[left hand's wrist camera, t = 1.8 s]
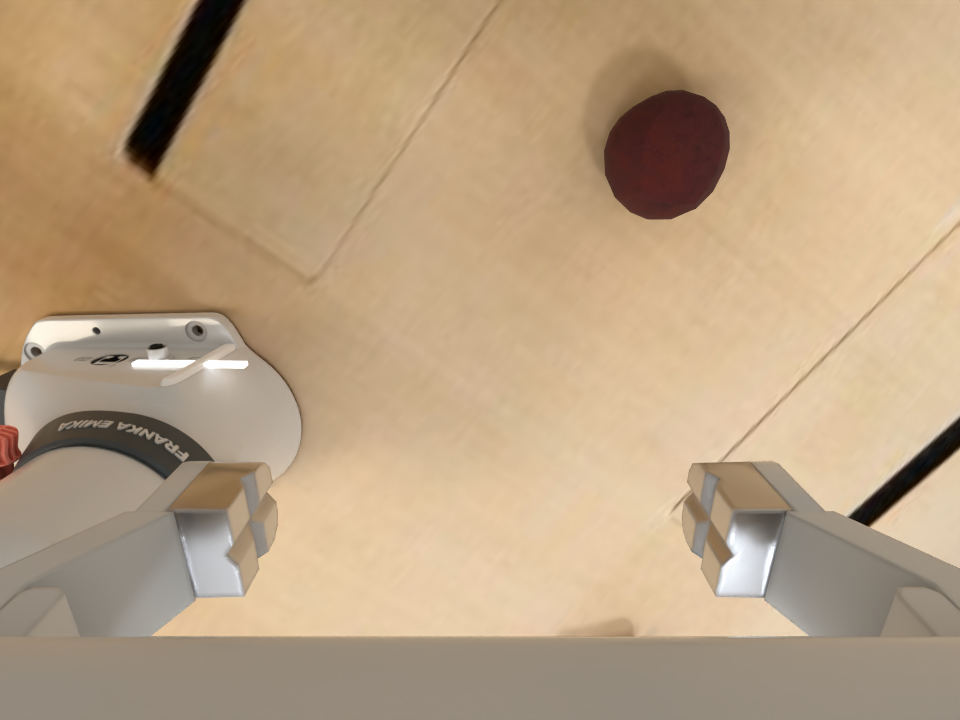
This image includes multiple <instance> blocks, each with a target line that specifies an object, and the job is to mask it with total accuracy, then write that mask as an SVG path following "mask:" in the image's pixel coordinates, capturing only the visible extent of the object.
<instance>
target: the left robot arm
mask: <svg viewBox="0 0 960 720" xmlns="http://www.w3.org/2000/svg"><path fill="white" fill-rule="evenodd" d="M197 325H198V326H200V327H201V328H202V329H203V333H200V332H199V331H198V330H197ZM38 348H39V349H40V350H41V351H42V353H41V352H40V351H39V350H38ZM301 432H302V427H301V417H300V413H299V409H298V406H297V403H296V401H295V398H294V396H293V394H292V392H291V391H290V389H289V387H288V386H287V384H286V383H285V381H284V380H283V379H282V378H281V376H280V375H279V374H278V373H277V372H276V371H275V370H274V369H273V368H272V367H271V366H270V365H269V364H268V363H266V362H265V361H264V360H263V359H261V358H260V357H259V356H258V355H256V354H255V353H254V352H253V351H251V350H250V349H249V348H248V347H247V346H246V345H245V343H244V341H243V339H242V338H241V336H240V335H239V333H238V331H237V330H236V328H235V327H234V325H233V324H232V323H231V322H230V320H229V319H228V318H226V317H225V316H224V315H222V314H220V313H215V312H201V313H155V314H109V315H64V316H48V317H44V318H42V319H40V320H38V321H36V322H35V323H34V325H33V326H32V328H31V329H30V331H29V333H28V335H27V337H26V340H25V343H24V346H23V350H22V357H21V366H20V367H19V368H18V369H17V370H16V369H14V370H12V371H10V372H8V373H5V374H3V375H1V376H0V720H960V569H959V568H957V567H955V566H953V565H951V564H948V563H946V562H944V561H942V560H940V559H937V558H935V557H933V556H931V555H929V554H926V553H924V552H922V551H920V550H918V549H915V548H913V547H911V546H909V545H907V544H905V543H902V542H900V541H898V540H896V539H894V538H891V537H889V536H887V535H885V534H883V533H880V532H878V531H876V530H874V529H872V528H869V527H867V526H865V525H863V524H861V523H858V522H856V521H854V520H852V519H850V518H847V517H845V516H843V515H841V514H839V513H836V512H834V511H825V510H824V509H823V508H822V507H821V506H820V505H819V504H818V503H817V502H816V501H815V500H814V499H813V498H812V497H811V496H810V495H809V494H808V493H807V492H806V491H805V490H804V489H803V488H802V487H801V486H800V485H799V484H798V483H797V482H796V481H795V480H794V479H793V478H792V477H791V476H790V475H789V474H788V473H787V472H786V471H785V470H784V469H783V468H782V467H781V466H780V465H779V464H778V463H776V462H773V461H753V462H720V463H693V464H692V466H691V468H690V470H689V474H688V480H687V483H688V484H689V486H690V488H691V489H692V491H693V493H692V494H691V495H690V496H689V497H688V498H687V499H686V500H685V501H684V504H683V512H682V523H683V532H684V535H685V539H686V542H687V544H688V546H689V548H690V550H691V551H692V552H693V553H695V554H696V555H698V556H699V557H701V558H702V564H701V570H702V572H703V574H704V576H705V578H706V579H707V581H708V583H709V585H710V587H711V589H712V590H713V592H714V594H715V596H716V597H749V598H765V599H764V600H765V601H766V602H767V603H769V604H770V605H771V606H772V607H774V608H775V609H776V610H777V611H779V612H780V613H781V614H782V615H784V616H785V617H786V618H787V619H789V620H790V621H791V622H792V623H794V624H795V625H796V626H798V627H799V628H800V629H801V630H803V631H804V632H805V633H806V634H808V635H809V636H733V637H300V636H151V635H153V634H154V633H155V632H156V631H158V630H159V629H160V628H161V627H163V626H164V625H165V624H166V623H168V622H169V621H170V620H171V619H173V618H174V617H175V616H177V615H178V614H179V613H180V612H182V611H183V610H184V609H185V608H187V607H188V606H189V605H190V604H192V603H193V602H194V601H195V598H210V597H244V596H245V594H246V592H247V591H248V589H249V587H250V585H251V583H252V581H253V579H254V578H255V576H256V574H257V572H258V570H259V564H258V558H259V557H261V556H262V555H264V554H265V553H267V552H268V551H269V550H270V548H271V546H272V544H273V542H274V539H275V535H276V530H277V526H278V511H277V504H276V501H275V500H274V499H273V498H272V497H271V496H270V495H269V494H268V493H267V491H268V489H269V488H270V486H271V484H272V483H273V481H274V480H275V479H277V478H278V477H279V476H280V475H282V474H283V473H284V472H285V471H286V470H287V468H288V467H289V466H290V465H291V463H292V462H293V460H294V458H295V456H296V454H297V452H298V449H299V445H300V441H301ZM14 464H15V468H14Z"/></svg>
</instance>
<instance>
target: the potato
mask: <svg viewBox="0 0 960 720" xmlns="http://www.w3.org/2000/svg"><path fill="white" fill-rule="evenodd" d="M729 149H730V142H729V129H728V126H727V123H726V120H725V117H724V116H723V114H722V113H721V112H720V110H719V109H718V107H717V106H716V105H715V104H713V103H712V102H710V101H709V100H708V99H706V98H705V97H703V96H700V95H696V94H693V93H690V92H687V91H684V90H676V91H665V92H663V93H660V94H657V95H654V96H651V97H650V98H648V99H646V100H644V101H642V102H641V103H639V104H637V105H636V106H634V107H632V108H631V109H630V110H629V111H628V112H626V113H625V114H624V115H623V116H622V117H621V118H620V119H619V120H618V121H617V123H616V124H615V126H614V127H613V129H612V130H611V132H610V134H609V137H608V140H607V144H606V147H605V150H604V156H605V175H606V177H607V180H608V182H609V184H610V187H611V189H612V191H613V194H614V196H615V198H616V199H617V200H618V201H619V202H620V203H621V204H622V205H623V206H624V207H625V208H627V209H628V210H629V211H630V212H631V213H634V214H636V215H638V216H641V217H643V218H646V219H673V218H675V217H677V216H679V215H682V214H684V213H686V212H689V211H691V210H694V209H696V208H697V207H698V206H699V205H700V204H701V203H702V202H703V201H704V200H705V199H706V198H707V197H708V196H709V195H710V194H711V193H712V192H713V190H714V188H715V186H716V184H717V182H718V181H719V179H720V177H721V175H722V173H723V171H724V169H725V165H726V161H727V157H728V153H729Z"/></svg>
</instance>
